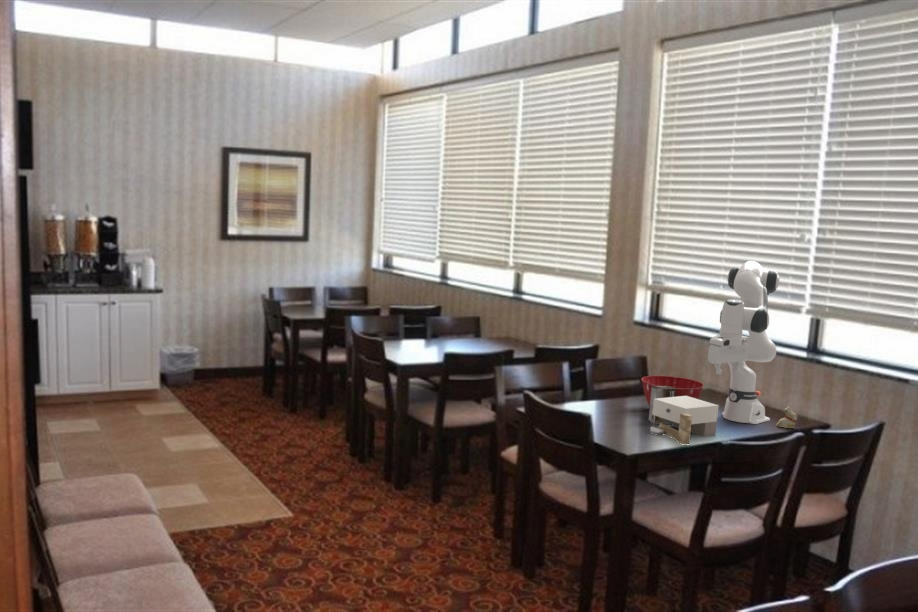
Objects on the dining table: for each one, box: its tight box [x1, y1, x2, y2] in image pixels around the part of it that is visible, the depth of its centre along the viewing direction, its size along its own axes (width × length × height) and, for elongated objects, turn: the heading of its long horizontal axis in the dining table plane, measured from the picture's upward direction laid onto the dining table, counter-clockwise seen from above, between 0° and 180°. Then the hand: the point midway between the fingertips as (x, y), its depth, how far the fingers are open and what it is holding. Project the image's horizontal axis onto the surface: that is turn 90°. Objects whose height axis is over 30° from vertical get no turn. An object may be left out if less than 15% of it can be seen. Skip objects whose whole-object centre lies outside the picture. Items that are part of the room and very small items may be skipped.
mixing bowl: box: [640, 375, 705, 407], centre depth 382 cm, size 28×28×16 cm
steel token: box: [649, 425, 666, 436], centre depth 345 cm, size 6×6×2 cm
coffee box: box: [648, 386, 676, 425], centre depth 363 cm, size 9×6×16 cm
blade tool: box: [658, 413, 692, 445], centre depth 339 cm, size 3×22×12 cm, turn 14°
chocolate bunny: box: [775, 406, 798, 429], centre depth 370 cm, size 6×8×10 cm
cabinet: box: [652, 396, 720, 437], centre depth 350 cm, size 21×18×13 cm
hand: (726, 373), depth 332 cm, fingers open, 8 cm apart
